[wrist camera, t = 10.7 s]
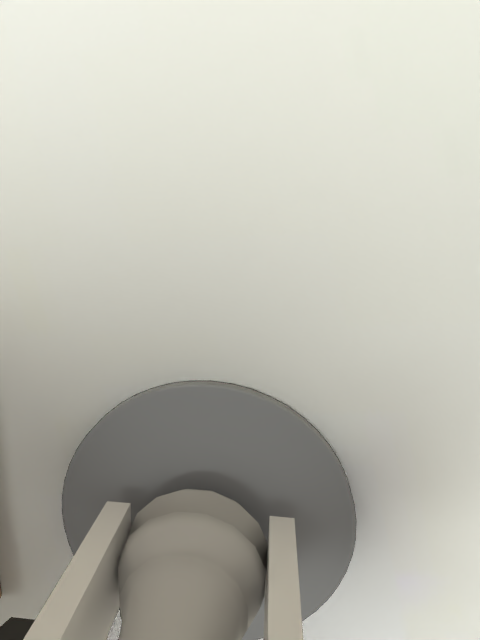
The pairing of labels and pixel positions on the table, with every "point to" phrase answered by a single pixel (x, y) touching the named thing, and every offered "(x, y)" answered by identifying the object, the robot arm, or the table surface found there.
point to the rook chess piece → (191, 569)
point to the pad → (220, 472)
